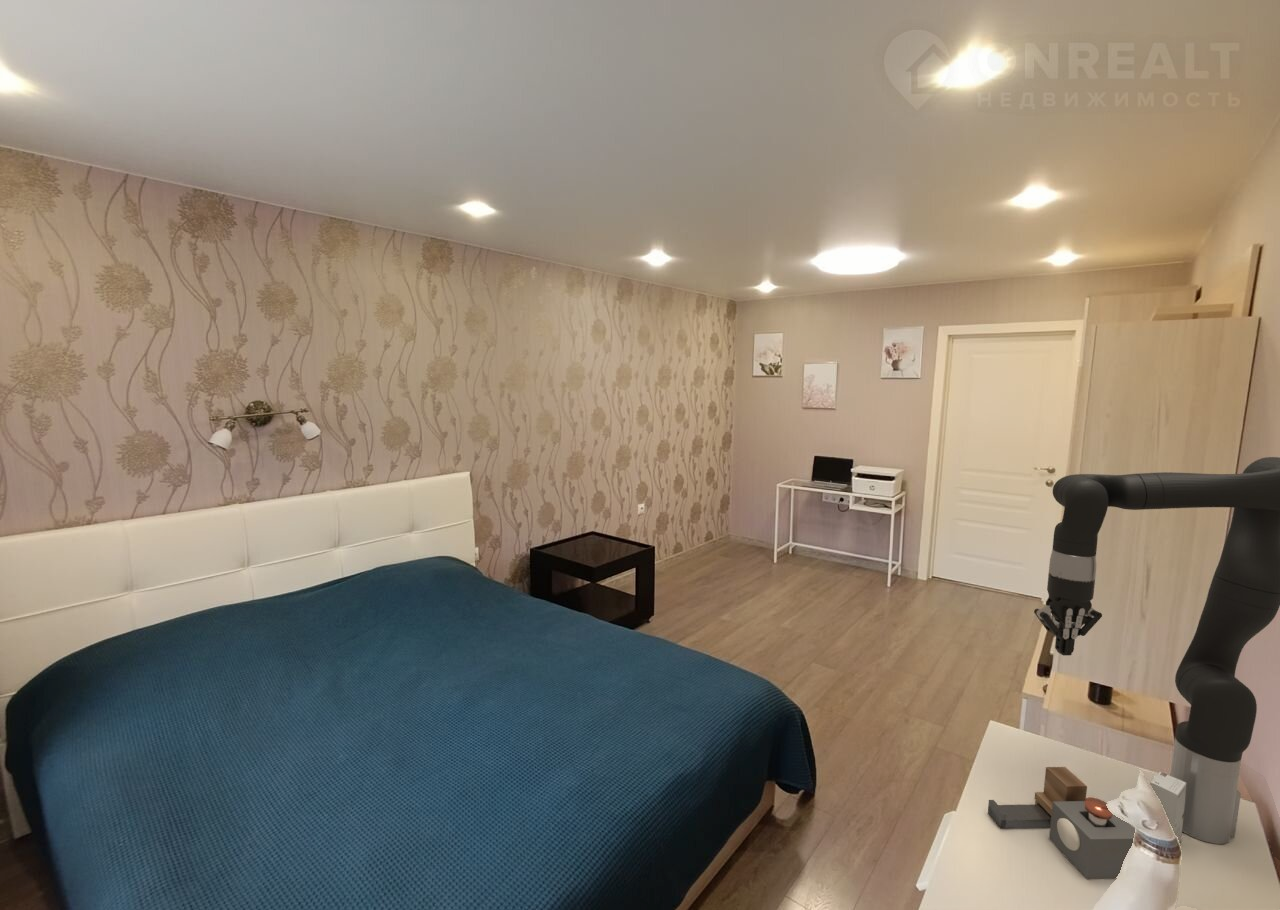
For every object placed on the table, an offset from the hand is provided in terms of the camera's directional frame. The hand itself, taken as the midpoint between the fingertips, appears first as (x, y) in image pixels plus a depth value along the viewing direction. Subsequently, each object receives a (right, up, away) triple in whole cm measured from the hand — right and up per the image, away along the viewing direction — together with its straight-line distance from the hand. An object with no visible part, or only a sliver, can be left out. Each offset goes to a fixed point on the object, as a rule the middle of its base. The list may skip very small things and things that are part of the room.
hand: (1063, 653), depth 115 cm
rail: (-6, -34, -2) cm, 34 cm away
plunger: (-3, -31, -11) cm, 33 cm away
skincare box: (+14, -34, -6) cm, 38 cm away
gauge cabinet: (-3, -35, -11) cm, 36 cm away
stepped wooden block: (-2, -33, -2) cm, 33 cm away
